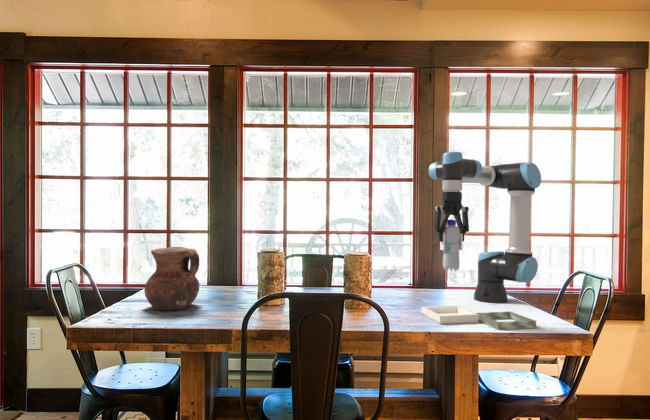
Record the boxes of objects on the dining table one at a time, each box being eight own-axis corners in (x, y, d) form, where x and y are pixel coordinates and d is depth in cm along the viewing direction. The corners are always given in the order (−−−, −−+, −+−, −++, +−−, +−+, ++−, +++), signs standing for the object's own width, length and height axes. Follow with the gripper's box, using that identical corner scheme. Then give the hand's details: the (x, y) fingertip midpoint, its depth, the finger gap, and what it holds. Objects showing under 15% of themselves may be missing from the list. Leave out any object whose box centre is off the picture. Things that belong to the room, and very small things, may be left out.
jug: (139, 313, 180) (140, 250, 180) (148, 303, 201) (149, 246, 201) (197, 311, 185) (198, 250, 185) (200, 301, 205) (201, 246, 205)
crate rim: (509, 317, 182) (510, 311, 182) (536, 327, 166) (536, 320, 166) (474, 319, 178) (474, 312, 178) (498, 329, 163) (498, 322, 163)
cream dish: (457, 312, 189) (457, 305, 189) (478, 322, 173) (478, 314, 173) (421, 314, 185) (421, 307, 185) (439, 324, 170) (440, 316, 170)
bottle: (451, 271, 174) (452, 219, 174) (438, 269, 180) (439, 219, 180) (463, 270, 178) (464, 219, 178) (450, 268, 184) (450, 219, 184)
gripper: (469, 192, 185) (468, 248, 185) (424, 191, 180) (423, 249, 180) (479, 191, 178) (478, 250, 178) (433, 190, 173) (432, 251, 173)
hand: (451, 249), depth 179 cm, fingers closed on bottle, 7 cm apart
